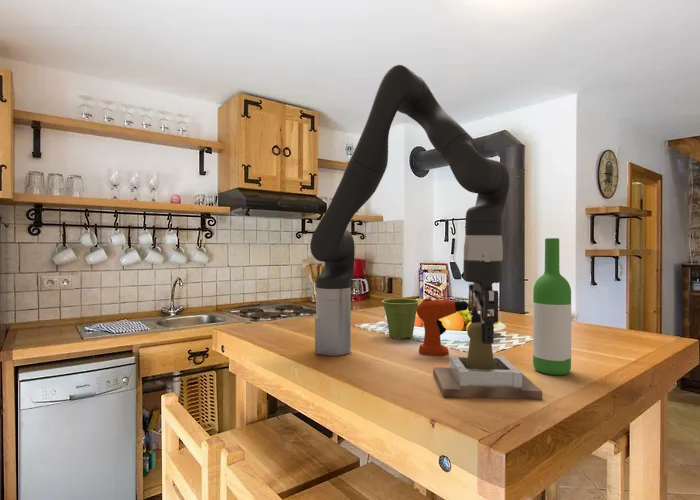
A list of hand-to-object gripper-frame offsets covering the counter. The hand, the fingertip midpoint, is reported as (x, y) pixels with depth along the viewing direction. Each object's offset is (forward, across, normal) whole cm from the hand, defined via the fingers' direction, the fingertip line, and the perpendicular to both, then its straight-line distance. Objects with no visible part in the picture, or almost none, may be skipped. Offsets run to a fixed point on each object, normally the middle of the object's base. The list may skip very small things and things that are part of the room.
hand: (481, 338), depth 84 cm
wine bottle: (+10, -11, +18) cm, 23 cm away
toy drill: (+10, -25, -2) cm, 27 cm away
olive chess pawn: (+8, -1, 0) cm, 8 cm away
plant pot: (+10, -45, -14) cm, 48 cm away
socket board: (+10, 0, 0) cm, 10 cm away
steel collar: (+8, 0, 0) cm, 8 cm away
